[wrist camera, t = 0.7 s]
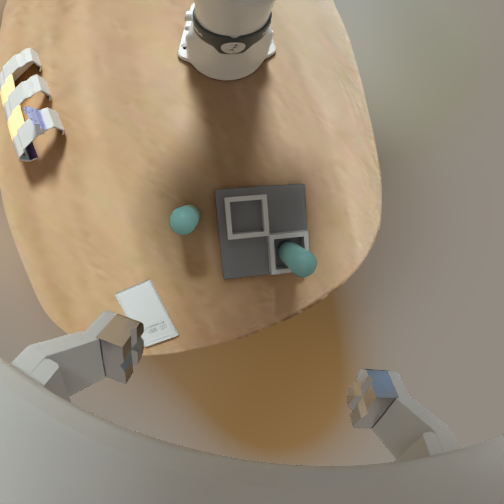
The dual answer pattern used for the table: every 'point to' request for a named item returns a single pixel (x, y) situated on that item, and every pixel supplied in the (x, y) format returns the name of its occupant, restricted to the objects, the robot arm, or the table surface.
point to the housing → (264, 231)
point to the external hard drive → (147, 312)
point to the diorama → (14, 96)
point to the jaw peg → (184, 219)
